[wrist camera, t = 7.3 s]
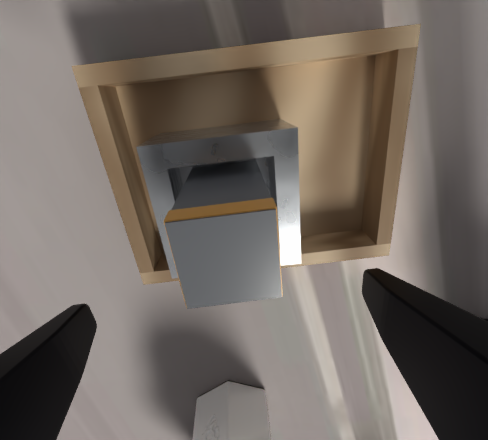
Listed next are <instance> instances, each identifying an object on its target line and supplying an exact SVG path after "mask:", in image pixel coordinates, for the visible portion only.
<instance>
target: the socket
mask: <svg viewBox="0 0 488 440" xmlns="http://www.w3.org/2000/svg"><path fill="white" fill-rule="evenodd" d="M136 148H137V152H138V156H139V159H140V163H141V167H142V170H143V174H144V178H145V182H146V185H147V189H148V193H149V196H150V200H151V204H152V207H153V211H154V215H155V218H156V222H157V226H158V229H159V233H160V237H161V240H162V244H163V248H164V251H165V255H166V259H167V262H168V266H169V270H170V273H171V277H172V279H173V278H178V274H177V271H176V267H175V263H174V259H173V255H172V252H171V248H170V244H169V240H168V237H167V233H166V229H165V225H164V219H165V217H166V215H167V213H168V211H169V210H172V208H173V206H174V204H175V202H176V200H177V198H178V196H179V194H180V192H181V190H182V188H183V186H184V184H185V182H186V180H187V178H188V176H189V174H190V172H191V170H192V168H197V167H205V166H213V165H221V164H229V163H237V162H245V161H253V160H256V161H257V164H258V166H259V169H260V171H261V174H262V176H263V179H264V181H265V184H266V186H267V189H268V191H269V194H270V196H271V198H273V199H274V202H275V204H276V206H277V217H278V232H279V247H280V262H281V266H282V265H290V264H299V263H301V236H300V194H299V153H298V127H296V126H294V125H292V124H290V123H288V122H286V121H284V120H282V119H275V120H267V121H259V122H251V123H242V124H234V125H226V126H217V127H209V128H201V129H193V130H184V131H176V132H168V133H160V134H158V135H156V136H154V137H153V138H151V139H149V140H147V141H146V142H144V143H142V144H140V145H138V146H137V147H136Z"/></svg>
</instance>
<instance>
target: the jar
mask: <svg viewBox="0 0 488 440" xmlns="http://www.w3.org/2000/svg"><path fill="white" fill-rule="evenodd" d="M192 440H272V439H271V431H270V422H269V414H268V407H267V399H266V392H265V390H264V389H261V388H256V387H252V386H248V385H243V384H239V383H235V382H231V381H227V382H225V383H223V384H222V385H220V386H218V387H216V388H214V389H213V390H211V391H209V392H207V393H205V394H203V395H202V396H200V397H198V398H197V401H196V411H195V420H194V430H193V439H192Z"/></svg>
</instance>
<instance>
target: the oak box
mask: <svg viewBox="0 0 488 440" xmlns="http://www.w3.org/2000/svg"><path fill="white" fill-rule="evenodd" d="M420 26H421V24H416V25H407V26H399V27H391V28H383V29H374V30H366V31H358V32H349V33H341V34H333V35H325V36H316V37H308V38H300V39H292V40H283V41H275V42H267V43H259V44H250V45H242V46H234V47H226V48H217V49H209V50H201V51H193V52H184V53H176V54H168V55H160V56H151V57H143V58H135V59H127V60H118V61H110V62H102V63H94V64H85V65H77V66H72V69H73V72H74V75H75V78H76V81H77V84H78V87H79V90H80V93H81V96H82V99H83V102H84V105H85V108H86V111H87V114H88V117H89V120H90V123H91V126H92V130H93V133H94V136H95V139H96V142H97V145H98V148H99V151H100V154H101V157H102V160H103V163H104V166H105V169H106V172H107V175H108V178H109V181H110V184H111V187H112V190H113V193H114V196H115V199H116V202H117V205H118V208H119V211H120V214H121V217H122V220H123V223H124V226H125V229H126V232H127V235H128V238H129V241H130V244H131V248H132V251H133V254H134V257H135V260H136V263H137V266H138V269H139V272H140V275H141V278H142V281H143V284H144V285H145V284H153V283H162V282H170V281H178V280H179V278H173V279H172V277H171V273H170V270H169V266H168V262H167V259H166V255H165V251H164V248H163V244H162V240H161V237H160V233H159V229H158V226H157V222H156V218H155V215H154V211H153V207H152V204H151V200H150V196H149V193H148V189H147V185H146V182H145V178H144V174H143V170H142V167H141V163H140V159H139V156H138V152H137V148H136V147H137V146H138V145H140V144H142V143H144V142H146V141H147V140H149V139H151V138H153V137H154V136H156V135H158V134H160V133H168V132H176V131H184V130H193V129H201V128H209V127H217V126H226V125H234V124H242V123H251V122H259V121H267V120H275V119H282V120H284V121H286V122H288V123H290V124H292V125H294V126H296V127H298V153H299V194H300V236H301V263H299V264H290V265H282V266H281V268H287V267H295V266H304V265H312V264H320V263H329V262H337V261H346V260H354V259H362V258H371V257H379V256H387V255H389V251H390V244H391V237H392V230H393V222H394V215H395V208H396V201H397V193H398V186H399V179H400V171H401V164H402V157H403V150H404V142H405V135H406V128H407V121H408V113H409V106H410V99H411V91H412V84H413V77H414V70H415V62H416V55H417V48H418V41H419V33H420Z"/></svg>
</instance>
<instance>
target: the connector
mask: <svg viewBox="0 0 488 440" xmlns="http://www.w3.org/2000/svg"><path fill="white" fill-rule="evenodd" d="M164 225H165V229H166V233H167V237H168V240H169V244H170V248H171V252H172V255H173V259H174V263H175V267H176V271H177V274H178V278H179V282H180V286H181V290H182V293H183V297H184V301H185V305H186V308H187V309H190V308H198V307H206V306H215V305H223V304H231V303H239V302H247V301H256V300H264V299H272V298H280V297H282V296H283V292H282V277H281V262H280V247H279V232H278V217H277V206H276V204H275V202H274V199H273V198H271V196H270V194H269V191H268V189H267V186H266V184H265V181H264V179H263V176H262V174H261V171H260V169H259V166H258V164H257V161H256V160H253V161H245V162H237V163H229V164H221V165H213V166H205V167H197V168H192V170H191V172H190V174H189V176H188V178H187V180H186V182H185V184H184V186H183V188H182V190H181V192H180V194H179V196H178V198H177V200H176V202H175V204H174V206H173V208H172V210H169V211H168V213H167V215H166V217H165V219H164Z"/></svg>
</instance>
